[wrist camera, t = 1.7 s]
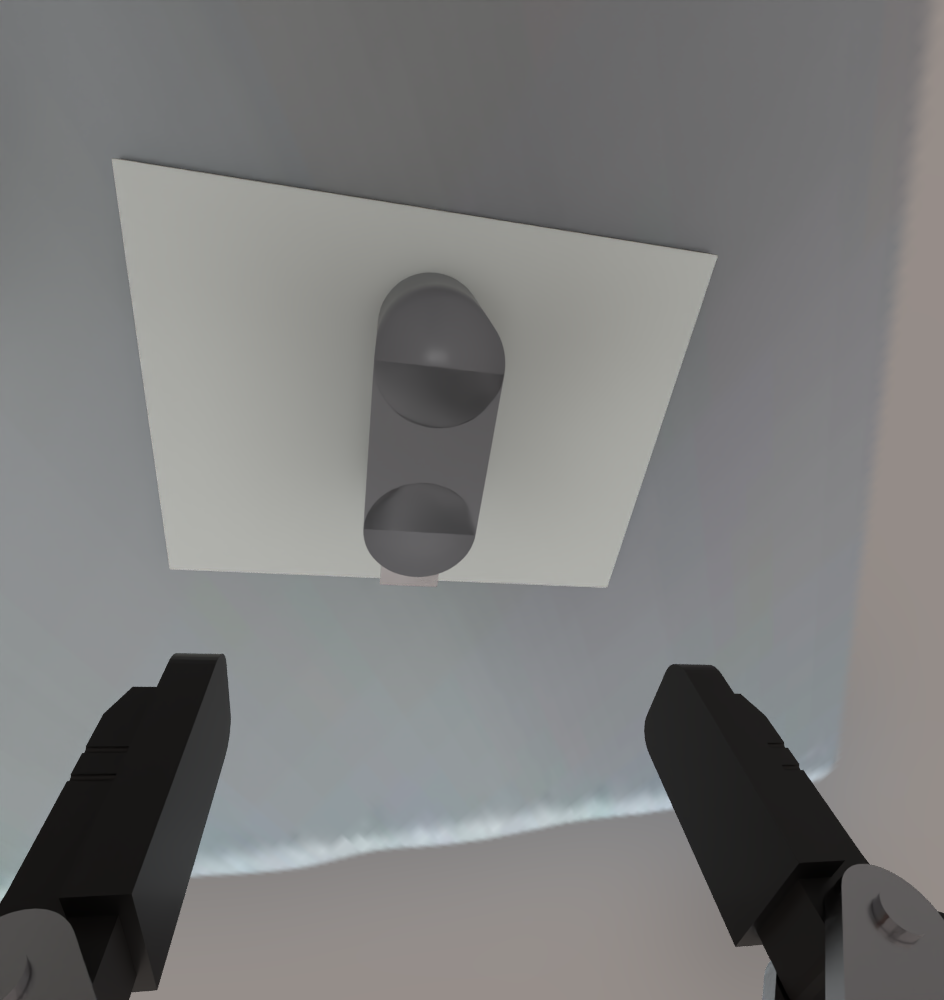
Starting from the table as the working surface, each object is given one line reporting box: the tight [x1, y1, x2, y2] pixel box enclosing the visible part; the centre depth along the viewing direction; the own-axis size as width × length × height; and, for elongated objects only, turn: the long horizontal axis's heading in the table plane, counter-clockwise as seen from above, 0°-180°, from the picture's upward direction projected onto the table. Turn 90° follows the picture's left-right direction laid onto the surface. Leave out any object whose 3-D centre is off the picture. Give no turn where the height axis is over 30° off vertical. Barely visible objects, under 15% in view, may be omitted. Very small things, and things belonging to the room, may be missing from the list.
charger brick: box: [363, 272, 505, 587], centre depth 21 cm, size 12×4×5 cm, turn 171°
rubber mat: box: [112, 158, 718, 588], centre depth 24 cm, size 16×21×1 cm
